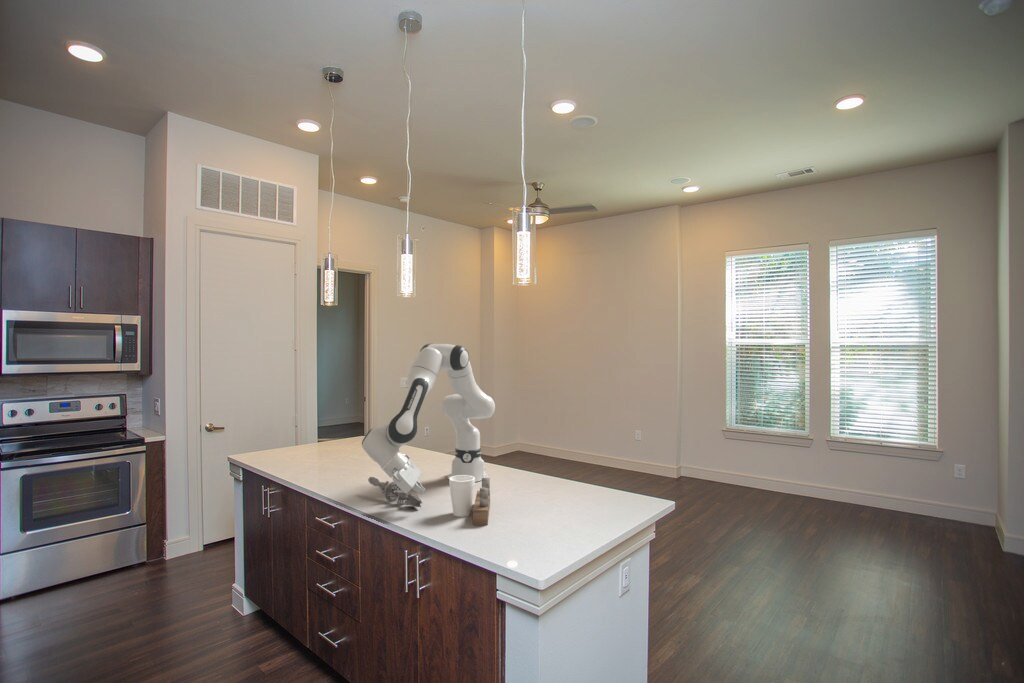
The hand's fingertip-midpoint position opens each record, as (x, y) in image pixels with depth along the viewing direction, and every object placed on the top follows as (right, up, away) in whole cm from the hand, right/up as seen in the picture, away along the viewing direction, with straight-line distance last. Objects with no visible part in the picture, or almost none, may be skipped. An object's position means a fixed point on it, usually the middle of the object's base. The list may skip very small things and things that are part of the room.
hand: (423, 492), depth 187 cm
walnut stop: (+21, -8, 0) cm, 23 cm away
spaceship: (-15, -8, +15) cm, 23 cm away
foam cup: (+14, -8, 0) cm, 16 cm away
